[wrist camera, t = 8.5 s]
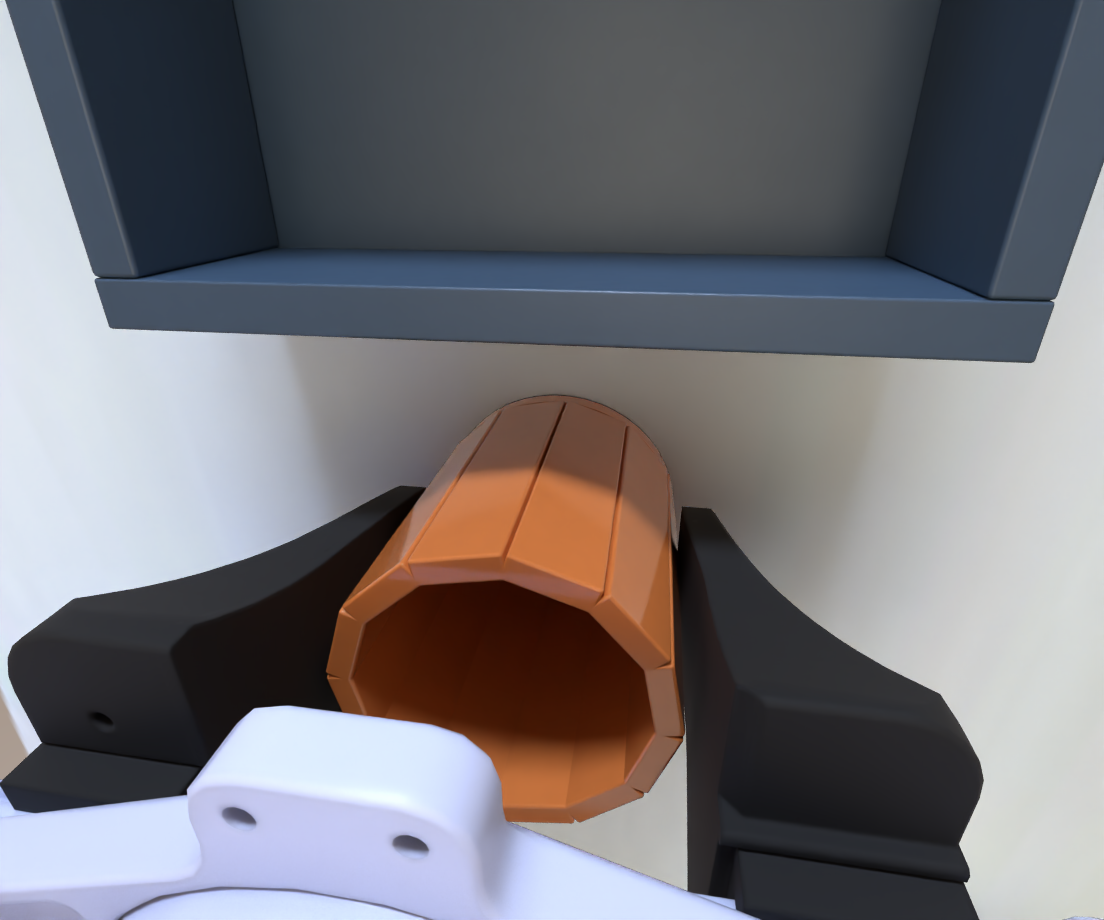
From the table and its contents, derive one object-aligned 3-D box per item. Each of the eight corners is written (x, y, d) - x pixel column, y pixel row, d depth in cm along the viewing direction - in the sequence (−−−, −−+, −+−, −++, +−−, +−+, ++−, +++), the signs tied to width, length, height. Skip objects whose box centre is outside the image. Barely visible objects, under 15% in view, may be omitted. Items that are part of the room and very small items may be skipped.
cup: (550, 621, 17) (493, 858, 11) (409, 478, 16) (262, 664, 10) (719, 521, 15) (757, 752, 9) (572, 346, 13) (506, 485, 8)
